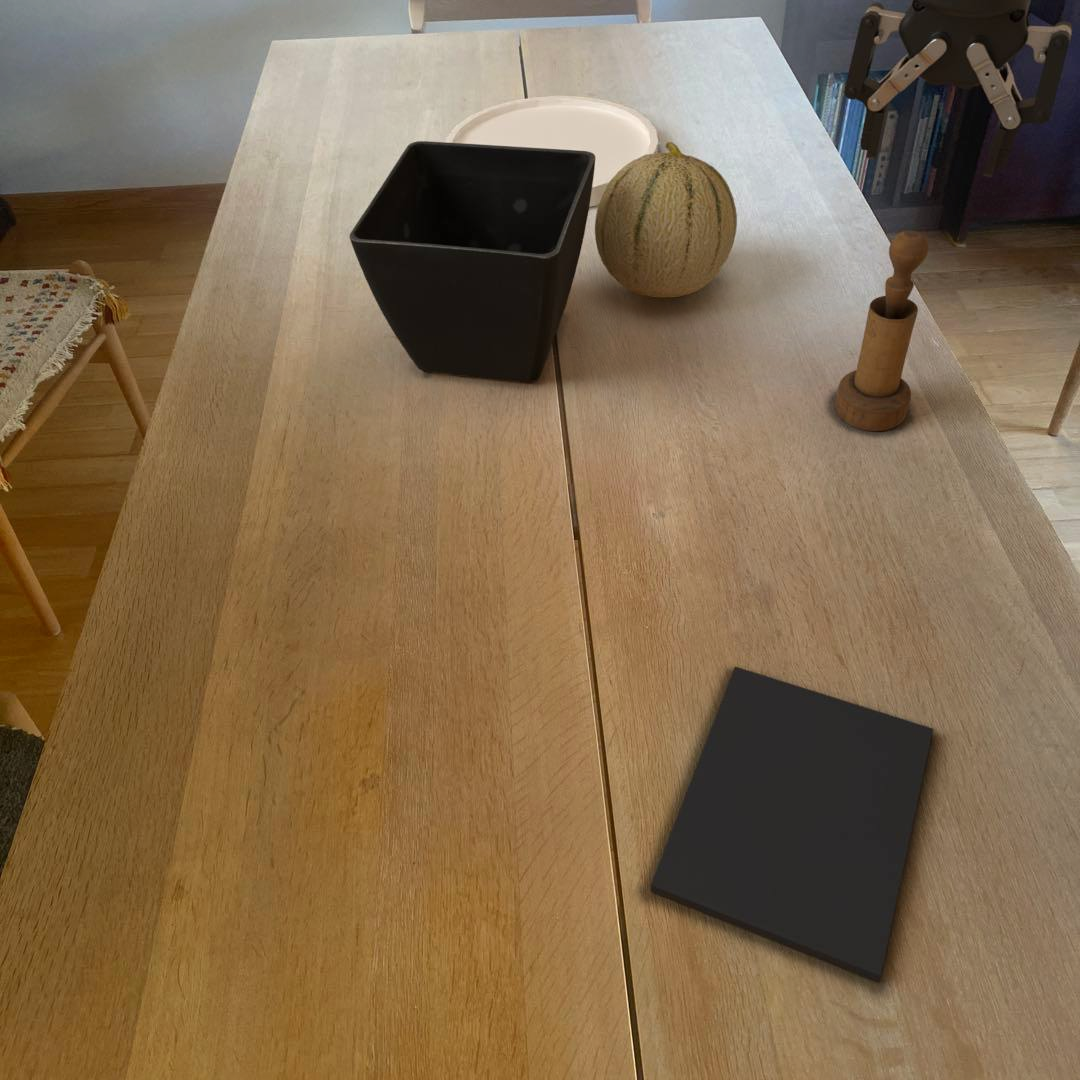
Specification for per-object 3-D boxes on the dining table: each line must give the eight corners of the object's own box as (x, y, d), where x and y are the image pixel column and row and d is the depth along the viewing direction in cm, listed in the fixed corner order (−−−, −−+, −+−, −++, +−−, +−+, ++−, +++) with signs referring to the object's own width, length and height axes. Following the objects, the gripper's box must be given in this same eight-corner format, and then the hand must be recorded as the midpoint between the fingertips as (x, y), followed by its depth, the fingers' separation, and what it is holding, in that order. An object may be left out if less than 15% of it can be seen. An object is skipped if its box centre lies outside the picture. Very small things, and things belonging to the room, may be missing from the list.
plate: (407, 193, 127) (405, 174, 125) (498, 103, 144) (496, 85, 143) (615, 227, 119) (615, 207, 117) (684, 127, 136) (685, 109, 134)
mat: (930, 736, 69) (933, 728, 68) (877, 982, 58) (881, 976, 57) (733, 674, 73) (734, 665, 73) (650, 891, 62) (650, 884, 62)
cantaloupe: (609, 334, 104) (609, 199, 93) (584, 261, 114) (581, 131, 103) (748, 316, 105) (764, 180, 94) (710, 245, 115) (721, 115, 104)
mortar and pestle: (822, 394, 95) (856, 220, 82) (885, 381, 96) (928, 208, 83) (854, 437, 91) (894, 261, 78) (919, 424, 91) (971, 247, 78)
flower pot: (563, 410, 95) (556, 252, 83) (376, 391, 99) (344, 237, 87) (598, 300, 108) (597, 149, 96) (432, 287, 112) (410, 140, 99)
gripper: (865, -70, 64) (825, 171, 76) (1106, -52, 60) (1023, 201, 71) (888, -102, 69) (847, 129, 81) (1113, -88, 64) (1034, 155, 76)
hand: (930, 163), depth 76 cm, fingers open, 8 cm apart
